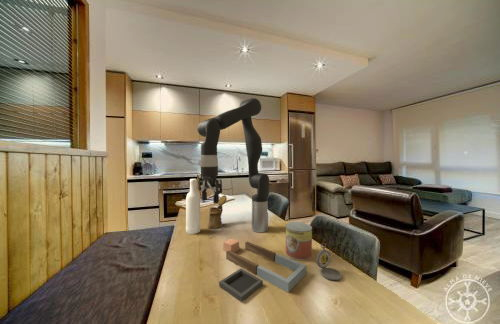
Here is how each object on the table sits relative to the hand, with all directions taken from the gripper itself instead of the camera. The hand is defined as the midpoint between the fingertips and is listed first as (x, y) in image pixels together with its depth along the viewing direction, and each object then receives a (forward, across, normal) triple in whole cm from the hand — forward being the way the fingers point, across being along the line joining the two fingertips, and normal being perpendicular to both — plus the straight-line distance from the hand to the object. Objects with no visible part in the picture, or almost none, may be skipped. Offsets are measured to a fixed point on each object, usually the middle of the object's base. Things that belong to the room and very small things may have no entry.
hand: (210, 201), depth 82 cm
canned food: (+23, -30, -24) cm, 45 cm away
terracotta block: (+23, -6, -6) cm, 24 cm away
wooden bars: (+22, -18, -6) cm, 30 cm away
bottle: (+23, +26, -7) cm, 35 cm away
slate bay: (+22, -32, -6) cm, 40 cm away
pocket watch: (+23, -45, -18) cm, 54 cm away
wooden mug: (+23, +24, -23) cm, 40 cm away
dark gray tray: (+22, -26, +8) cm, 35 cm away
